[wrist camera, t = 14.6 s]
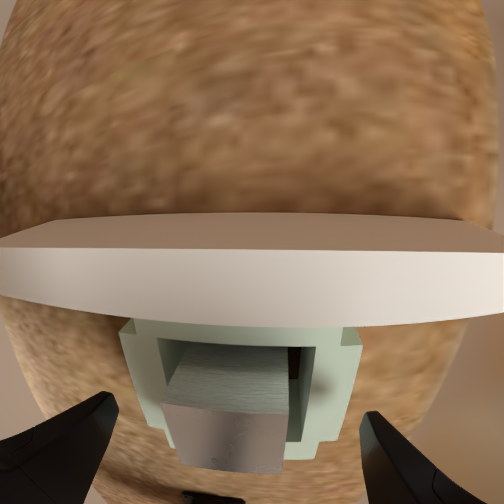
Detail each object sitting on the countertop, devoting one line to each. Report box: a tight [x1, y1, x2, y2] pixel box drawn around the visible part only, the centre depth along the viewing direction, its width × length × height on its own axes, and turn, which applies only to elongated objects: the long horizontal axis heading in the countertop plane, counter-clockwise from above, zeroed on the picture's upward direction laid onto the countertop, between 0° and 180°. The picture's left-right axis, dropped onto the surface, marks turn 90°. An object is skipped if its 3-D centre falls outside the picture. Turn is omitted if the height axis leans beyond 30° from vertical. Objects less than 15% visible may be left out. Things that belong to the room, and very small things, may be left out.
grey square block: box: [160, 341, 289, 474], centre depth 11 cm, size 4×4×7 cm
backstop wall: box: [0, 212, 504, 328], centre depth 10 cm, size 2×22×6 cm, turn 91°
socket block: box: [118, 318, 363, 460], centre depth 12 cm, size 9×9×4 cm
